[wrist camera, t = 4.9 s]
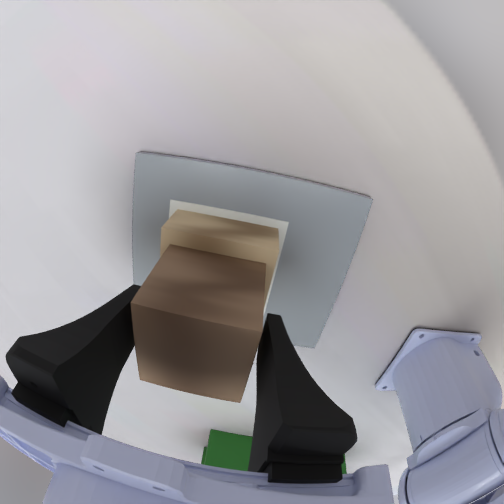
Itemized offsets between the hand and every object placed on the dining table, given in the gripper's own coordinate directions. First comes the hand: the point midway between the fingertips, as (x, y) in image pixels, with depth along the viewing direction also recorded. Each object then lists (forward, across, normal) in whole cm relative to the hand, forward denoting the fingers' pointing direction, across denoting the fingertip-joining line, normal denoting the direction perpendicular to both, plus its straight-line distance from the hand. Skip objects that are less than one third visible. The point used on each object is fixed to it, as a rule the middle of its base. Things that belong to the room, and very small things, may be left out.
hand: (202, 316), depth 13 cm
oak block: (+5, 0, 0) cm, 5 cm away
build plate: (+6, -1, 0) cm, 6 cm away
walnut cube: (+2, 0, 0) cm, 2 cm away
